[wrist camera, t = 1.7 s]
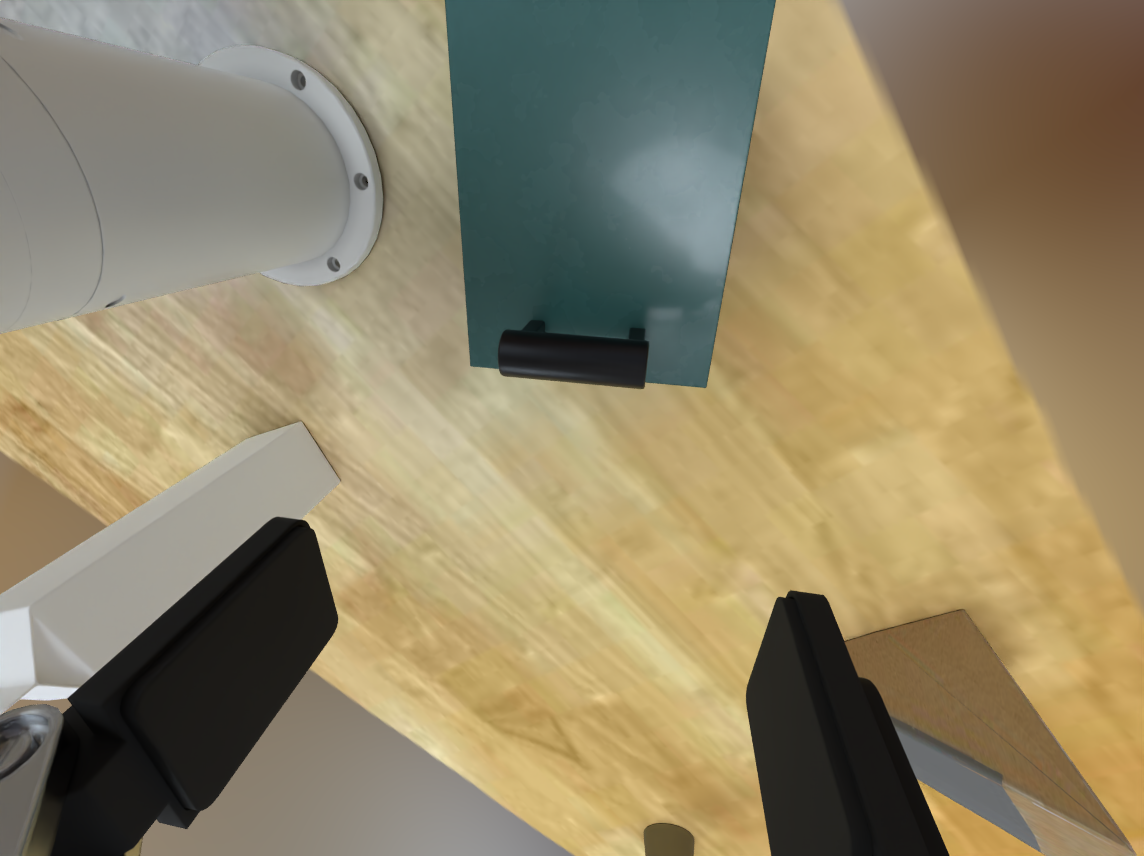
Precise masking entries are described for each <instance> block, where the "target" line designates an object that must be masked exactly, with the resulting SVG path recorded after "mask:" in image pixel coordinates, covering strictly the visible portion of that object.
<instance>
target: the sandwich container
mask: <svg viewBox="0 0 1144 856" xmlns="http://www.w3.org/2000/svg"><path fill="white" fill-rule="evenodd" d="M845 645H846V647H847V650H848V652H849V655H850V657H851V660H852V662H853V665H854V667H855V670H856V672H857V675H858V677H862V678H866V679H868V680H870V681H871V682H872V683H873V684H874V685H875V686H876V688H877V689H878V691H879V693H880V695H881V697H882V699H883V702H884V704H885V706H886V709H887V711H888V713H889V716H890V718H891V720H892V723H893V725H894V727H895V730H896V732H897V734H898V737H899V739H900V741H901V744H902V746H903V748H904V751H905V753H906V755H907V758H908V760H909V762H910V765H911V767H912V769H913V772H914V774H915V776H916V778H917V779H918V780H920V781H922V782H923V783H925V784H927V785H928V786H930V787H932V788H933V789H935V790H937V791H938V792H940V793H942V794H943V795H945V796H947V797H948V798H950V799H952V800H953V801H955V802H957V803H959V804H960V805H962V806H964V807H965V808H967V809H969V810H971V811H972V812H974V813H976V814H977V815H979V816H981V817H983V818H984V819H986V820H988V821H990V822H991V823H993V824H995V825H996V826H998V827H1000V828H1001V829H1003V830H1005V831H1006V832H1008V833H1009V834H1011V835H1013V836H1014V837H1016V838H1018V839H1019V840H1021V841H1023V842H1024V843H1026V844H1028V845H1029V846H1031V847H1033V848H1034V849H1036V850H1038V851H1039V852H1041V853H1042V854H1044V855H1046V856H1137V855H1136V853H1135V851H1134V850H1133V848H1132V846H1131V845H1130V843H1129V841H1128V840H1127V838H1126V837H1125V836H1124V834H1123V833H1122V831H1121V830H1120V829H1119V827H1118V826H1117V824H1116V823H1115V821H1114V820H1113V819H1112V817H1111V816H1110V814H1109V813H1108V812H1107V810H1106V809H1105V807H1104V806H1103V805H1102V803H1101V802H1100V800H1099V799H1098V797H1097V796H1096V795H1095V793H1094V792H1093V790H1092V789H1091V788H1090V786H1089V785H1088V783H1087V782H1086V781H1085V779H1084V778H1083V776H1082V775H1081V773H1080V772H1079V771H1078V769H1077V768H1076V766H1075V765H1074V764H1073V762H1072V761H1071V759H1070V758H1069V757H1068V755H1067V754H1066V752H1065V751H1064V749H1063V748H1062V747H1061V745H1060V744H1059V742H1058V741H1057V740H1056V738H1055V737H1054V735H1053V734H1052V733H1051V731H1050V730H1049V728H1048V727H1047V725H1046V724H1045V723H1044V721H1043V720H1042V718H1041V717H1040V716H1039V714H1038V713H1037V711H1036V710H1035V709H1034V707H1033V706H1032V704H1031V703H1030V702H1029V700H1028V699H1027V697H1026V696H1025V694H1024V693H1023V692H1022V690H1021V689H1020V687H1019V686H1018V685H1017V683H1016V682H1015V680H1014V679H1013V678H1012V676H1011V675H1010V673H1009V672H1008V671H1007V669H1006V668H1005V666H1004V665H1003V663H1002V662H1001V661H1000V659H999V658H998V656H997V655H996V654H995V652H994V651H993V649H992V648H991V647H990V645H989V644H988V642H987V641H986V640H985V638H984V637H983V635H982V634H981V633H980V631H979V630H978V628H977V627H976V626H975V624H974V623H973V621H972V620H971V619H970V617H969V616H968V614H967V613H966V612H965V610H959V611H955V612H951V613H947V614H944V615H940V616H936V617H932V618H928V619H925V620H921V621H917V622H913V623H909V624H906V625H902V626H898V627H894V628H890V629H886V630H883V631H879V632H875V633H872V634H869V635H865V636H862V637H859V638H855V639H852V640H849V641H845Z"/></svg>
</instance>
